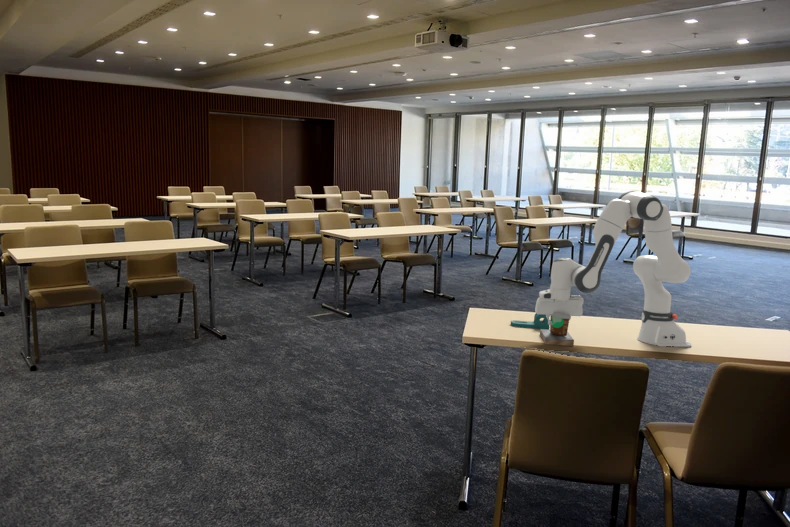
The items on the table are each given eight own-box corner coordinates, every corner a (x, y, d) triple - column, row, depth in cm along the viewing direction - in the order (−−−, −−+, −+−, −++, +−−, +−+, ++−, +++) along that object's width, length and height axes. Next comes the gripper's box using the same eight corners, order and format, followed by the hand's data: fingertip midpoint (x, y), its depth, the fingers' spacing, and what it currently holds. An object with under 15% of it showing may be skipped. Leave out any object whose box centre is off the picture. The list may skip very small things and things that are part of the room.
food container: (542, 329, 275) (544, 307, 274) (555, 329, 276) (557, 308, 275) (555, 336, 263) (557, 314, 262) (568, 336, 265) (570, 314, 263)
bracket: (547, 327, 297) (548, 311, 295) (548, 330, 290) (550, 314, 289) (510, 324, 299) (511, 308, 298) (510, 327, 293) (511, 311, 292)
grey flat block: (566, 337, 278) (566, 330, 277) (573, 346, 262) (574, 339, 262) (539, 335, 279) (540, 329, 278) (545, 345, 263) (545, 338, 263)
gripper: (582, 294, 270) (580, 324, 272) (535, 291, 271) (533, 322, 273) (585, 296, 263) (583, 327, 265) (537, 294, 265) (535, 325, 267)
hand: (557, 324), depth 269 cm, fingers closed on food container, 5 cm apart
